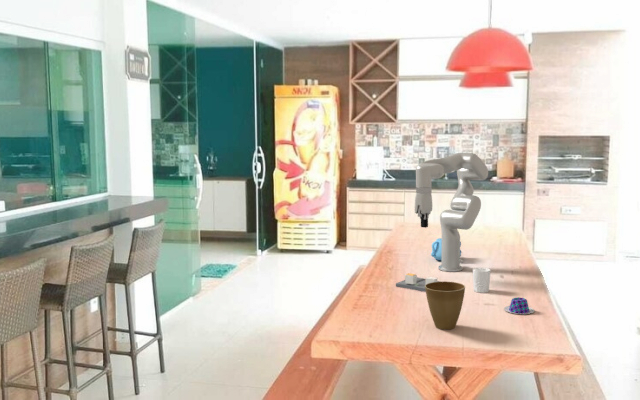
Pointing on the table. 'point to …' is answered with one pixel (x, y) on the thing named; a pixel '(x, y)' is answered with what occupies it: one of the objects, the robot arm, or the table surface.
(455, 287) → the plant pot
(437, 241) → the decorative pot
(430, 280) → the block
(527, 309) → the purple patterned hat
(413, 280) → the block
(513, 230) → the table surface
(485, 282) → the white cup
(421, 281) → the breaker panel
